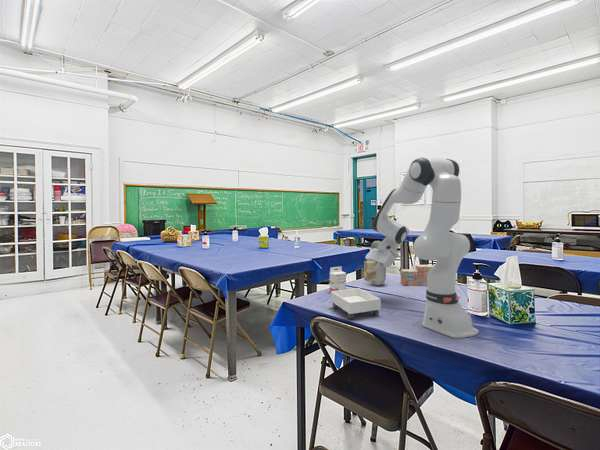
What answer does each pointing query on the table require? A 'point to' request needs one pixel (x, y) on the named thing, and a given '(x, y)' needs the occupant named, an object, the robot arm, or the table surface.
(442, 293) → the robot arm
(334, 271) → the ink cartridge box
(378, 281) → the grey bottle
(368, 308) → the tray
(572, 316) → the table surface
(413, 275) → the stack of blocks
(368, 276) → the maple part block
